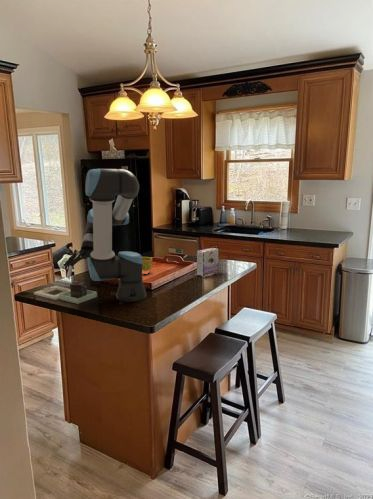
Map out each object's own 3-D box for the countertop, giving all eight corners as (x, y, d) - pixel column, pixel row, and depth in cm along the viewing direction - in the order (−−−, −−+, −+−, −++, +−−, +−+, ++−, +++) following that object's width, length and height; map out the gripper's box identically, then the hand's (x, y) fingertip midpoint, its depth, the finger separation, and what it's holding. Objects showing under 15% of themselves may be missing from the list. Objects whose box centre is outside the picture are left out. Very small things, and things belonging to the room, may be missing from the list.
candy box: (211, 272, 240) (212, 247, 236) (218, 274, 235) (219, 248, 232) (196, 276, 231) (196, 250, 227) (203, 278, 226) (203, 251, 223)
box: (82, 299, 187) (81, 284, 185) (70, 298, 188) (69, 284, 186) (86, 295, 193) (86, 281, 191) (75, 294, 194) (75, 281, 192)
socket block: (76, 292, 199) (76, 289, 199) (54, 299, 188) (54, 296, 187) (55, 287, 207) (55, 284, 207) (33, 294, 196) (33, 291, 195)
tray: (97, 296, 193) (96, 292, 192) (78, 304, 182) (77, 299, 181) (78, 292, 199) (78, 288, 199) (59, 299, 188) (59, 294, 188)
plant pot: (148, 276, 230) (148, 261, 228) (133, 275, 234) (132, 259, 232) (155, 272, 240) (154, 257, 238) (140, 271, 243) (140, 256, 241)
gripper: (113, 248, 207) (106, 282, 196) (69, 247, 209) (60, 280, 198) (110, 240, 201) (103, 275, 190) (64, 239, 203) (55, 273, 192)
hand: (81, 278), depth 194 cm, fingers open, 13 cm apart
